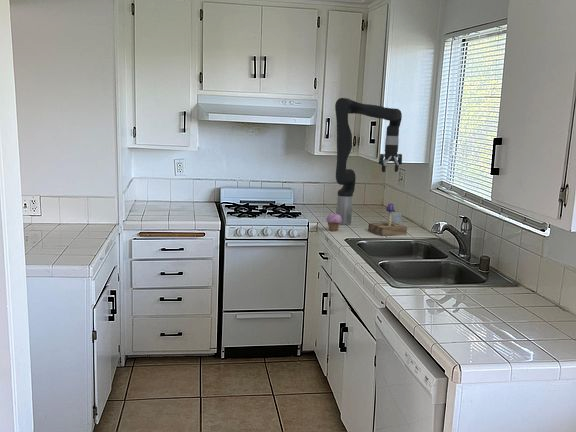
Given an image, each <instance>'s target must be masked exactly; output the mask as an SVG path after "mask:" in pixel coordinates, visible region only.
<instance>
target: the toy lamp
mask: <svg viewBox="0 0 576 432" xmlns="http://www.w3.org/2000/svg"><path fill="white" fill-rule="evenodd" d="M395 210H396V209H395V205H394V204H393V203H388V204H387V206H386V210H385V211H386V212H388V213H389V217H388V216H387V222H388V221H389V222H388V226H391V216H392V214H391V213H392V212H396V211H395ZM388 218H389V219H388Z"/></svg>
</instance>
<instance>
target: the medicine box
mask: <svg viewBox="0 0 576 432" xmlns="http://www.w3.org/2000/svg"><path fill="white" fill-rule="evenodd" d="M402 213H403V212H396V211H392V213H391V214H392V216H391V222H394V223H397V224H400V225H402V216H403V215H402ZM388 217H389V212H387V222H389V221H388V219H389V218H388Z"/></svg>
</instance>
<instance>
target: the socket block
mask: <svg viewBox="0 0 576 432" xmlns="http://www.w3.org/2000/svg"><path fill="white" fill-rule="evenodd" d="M368 231H369V232H371V233H374V234H376V235H378V236H381V237H392V236H405V235H407V231H408V227H407V226H405V225H402V224H401V225H400V224H397V223H394V222H391V226H388V221H382V222H381V221H380V222H368Z"/></svg>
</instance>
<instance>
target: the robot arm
mask: <svg viewBox="0 0 576 432" xmlns="http://www.w3.org/2000/svg"><path fill="white" fill-rule="evenodd" d="M334 105H335V106H334V111H335V118H336V164H335V181H336V183H337V184H338V185H340V186H342V187H340V189H338V190H337V196H336V197H337V198H336V200H337V202H336V209H335V211H336V212H335V214H339V215H340V216H341V218H342V221H341V223H340V225H343V226H346V225H347V226H348V225H351V224H352V215H353V214H352V213H353V199H354V198H353V197H354V192H355V187H356V180H357V179H356V172H355V171H354V170H353V169H352V168H347V163H348V162H347V161H348V159H349V156H350V153H351V152H352V149H353V134H352V130H351V128H350V125H349V115H350V114H353V115H354V114H356V115H357V114H358V115H362V116H367V117H370V118H375V119H383V120H386V121H389V122H388V123H389V124H388V126H387V127H386V131H385V132H386V133H385V142H384V153H380V154H379V158H378V159H379V161H378V164H379V165H381V171H382V173H385V172H386V166H387V164H388V163H389V162H393V164H394V173H398V172H399V166H400V165H402V164H403V154H402V153H398V152H399V140H400V139H399V136H400V135H399V134H400V128H401V127H400V126H401V122H402V116H403V115H402V111H401V109H399V108H392V107H385V106H382V105H376V104H369V103H368V104H367V103H361V102H358V101H354V100H352V99H350V98H348V97H347V98H346V97H340V98H338V99H337V100H336V102H335V104H334Z"/></svg>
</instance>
